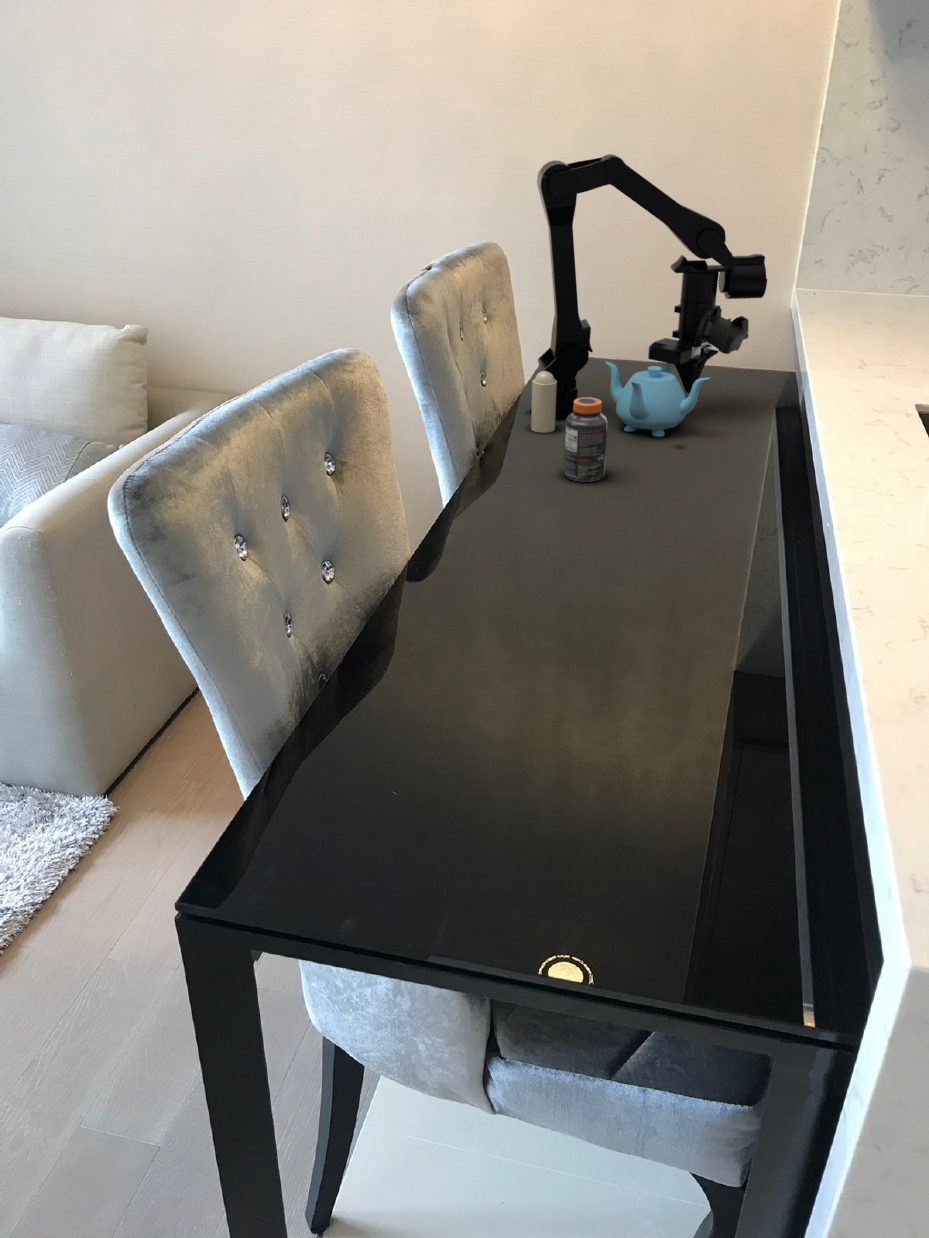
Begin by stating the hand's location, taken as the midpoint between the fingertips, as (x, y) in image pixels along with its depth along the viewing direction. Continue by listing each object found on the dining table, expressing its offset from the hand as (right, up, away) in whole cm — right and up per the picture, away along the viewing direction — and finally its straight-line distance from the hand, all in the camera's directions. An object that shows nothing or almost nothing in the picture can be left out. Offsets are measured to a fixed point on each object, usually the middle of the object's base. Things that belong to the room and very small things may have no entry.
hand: (689, 392), depth 172 cm
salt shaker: (-26, -7, -6) cm, 28 cm away
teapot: (-8, -7, -6) cm, 13 cm away
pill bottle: (-21, -18, -25) cm, 37 cm away
